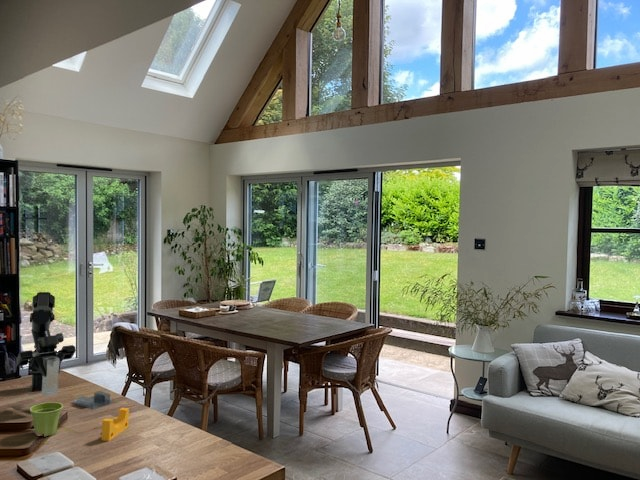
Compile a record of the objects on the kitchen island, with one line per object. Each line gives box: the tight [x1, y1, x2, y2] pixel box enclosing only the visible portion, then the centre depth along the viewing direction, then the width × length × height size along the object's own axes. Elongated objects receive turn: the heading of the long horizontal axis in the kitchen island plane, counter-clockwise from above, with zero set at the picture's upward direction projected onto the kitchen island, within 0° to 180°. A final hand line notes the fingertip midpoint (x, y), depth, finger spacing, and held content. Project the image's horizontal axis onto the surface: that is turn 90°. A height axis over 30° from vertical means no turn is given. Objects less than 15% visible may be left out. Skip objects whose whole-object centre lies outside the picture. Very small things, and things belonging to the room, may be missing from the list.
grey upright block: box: [41, 356, 60, 397], centre depth 181 cm, size 7×4×13 cm, turn 47°
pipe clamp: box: [101, 407, 130, 442], centre depth 166 cm, size 12×4×6 cm, turn 172°
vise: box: [71, 390, 116, 411], centre depth 190 cm, size 12×10×4 cm
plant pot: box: [29, 401, 64, 438], centre depth 163 cm, size 9×9×9 cm
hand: (52, 375), depth 181 cm, fingers closed on grey upright block, 4 cm apart
